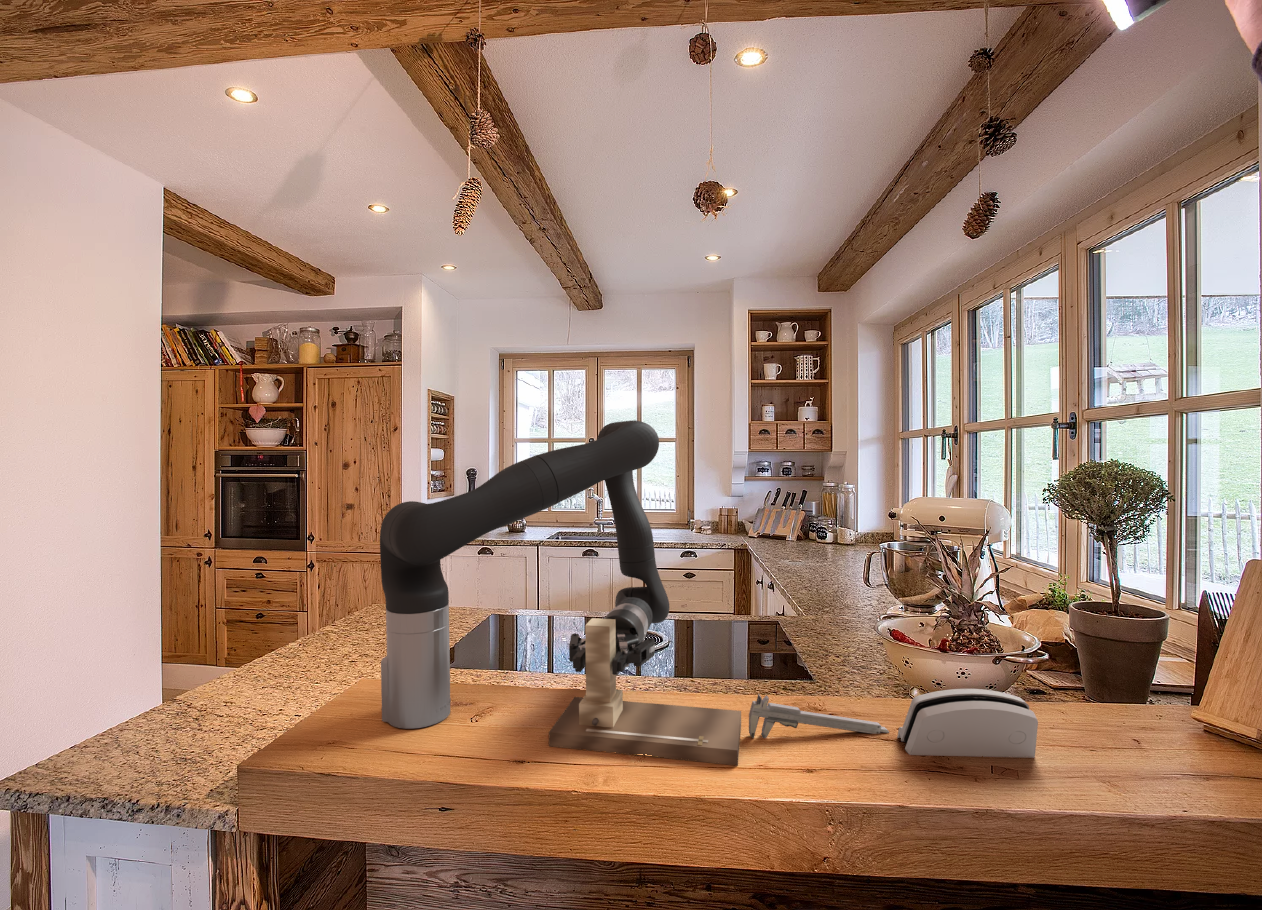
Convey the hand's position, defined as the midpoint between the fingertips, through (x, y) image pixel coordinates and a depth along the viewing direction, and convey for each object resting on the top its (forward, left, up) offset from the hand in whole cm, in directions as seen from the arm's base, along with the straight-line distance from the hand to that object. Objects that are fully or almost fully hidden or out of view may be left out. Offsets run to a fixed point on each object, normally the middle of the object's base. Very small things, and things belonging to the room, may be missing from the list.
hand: (596, 666), depth 88 cm
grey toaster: (+50, +6, -11) cm, 52 cm away
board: (+7, +3, -10) cm, 13 cm away
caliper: (+31, +8, -11) cm, 34 cm away
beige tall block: (0, +3, -8) cm, 9 cm away
